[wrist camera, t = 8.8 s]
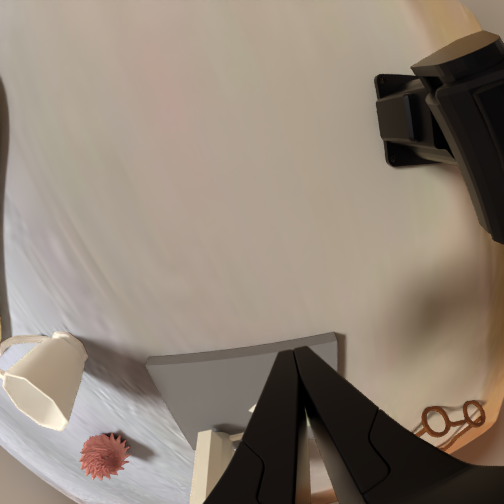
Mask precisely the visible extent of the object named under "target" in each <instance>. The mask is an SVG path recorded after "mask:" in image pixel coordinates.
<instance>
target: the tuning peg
mask: <svg viewBox="0 0 504 504" xmlns="http://www.w3.org/2000/svg"><path fill="white" fill-rule="evenodd" d="M243 433H244V432H243ZM243 433H239V434H235V435H230V434H228V433H225V432H213V431H212V430H207V431H203V432H198V438H197V446H196V454H195V462H194V470H193V478H192V487H191V496H190V504H203V502H204V501H205V499H206V498H207V497H208V495H209V494H210V492H211V491H212V490H213V488H214V487H215V485H216V484H217V482H218V481H219V479H220V478H221V476H222V474H223V473H224V471H225V470H226V468H227V466H228V464H229V462H230V461H231V459H232V457H233V455H234V453H235V451H234V450H233V449H232V441H236V440H240V439H241V438H242V436H243Z"/></svg>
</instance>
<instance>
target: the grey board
mask: <svg viewBox="0 0 504 504" xmlns="http://www.w3.org/2000/svg"><path fill="white" fill-rule="evenodd" d="M305 345H307V346H308V347H310V348H311V349H312V350H313V351H314V352H315V353H316V354H318V355H319V356H320V357H321V358H322V359H323V360H324V361H325V362H327V363H328V364H329V365H330V366H331V367H332V368H333V369H335V370H336V371H337V339H336V337H335V334H334V332H332V333H327V334H322V335H317V336H311V337H306V338H301V339H295V340H289V341H283V342H277V343H271V344H265V345H258V346H251V347H244V348H236V349H229V350H220V351H212V352H202V353H193V354H182V355H170V356H156V357H149V358H148V360H147V363H146V365H145V366H146V368H147V370H148V372H149V374H150V376H151V378H152V380H153V382H154V384H155V386H156V387H157V389H158V391H159V393H160V395H161V397H162V399H163V400H164V402H165V404H166V406H167V408H168V409H169V411H170V413H171V414H172V416H173V418H174V420H175V421H176V423H177V425H178V426H179V428H180V430H181V431H182V433H183V435H184V436H185V438H186V439H187V441H188V442H189V444H190V446H191V447H192V449H193V450H196V446H197V438H198V432H203V431H207V430H212V431H213V432H225V433H228V434H230V435H235V434H239V433H243V432H244V431H245V429H246V427H247V425H248V422H249V420H250V418H251V415H252V413H253V411H254V409H255V406H256V404H257V402H258V399H259V397H260V395H261V392H262V390H263V387H264V385H265V383H266V380H267V378H268V375H269V373H270V370H271V368H272V366H273V363H274V361H275V358H276V356H277V353H278V352H279V351H283V350H287V349H292V350H293V349H294V348H296V347H300V346H305ZM305 411H306V410H305ZM306 416H307V414H306ZM307 425H308V439H313V438H314V435H313V432H312V429H311V427H310V424H309V421H308V418H307ZM240 441H241V439H240V440H236V441H232V449H236V448H237V446H238V444H239V442H240Z"/></svg>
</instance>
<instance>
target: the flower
mask: <svg viewBox="0 0 504 504" xmlns="http://www.w3.org/2000/svg"><path fill="white" fill-rule="evenodd" d="M120 438H121V435H120V436H119V437H118V438H117V439H116V440H115V439H114V436H113V433H111V436H110V437H108V436H106V435H104V434H102V436H101V435H99V436H96V435H95V436H92V437H89V440H87V441H86V442H85V443H84V445H83V446H84V448H83V449H82V452H80V453H82V454H83V456H82V458H81V459H80V461H79V462H82V466H81V469H85V472H86V476H87V475H88V474H90V473H91V475H92V478H93V480H94V478H95V477H96V475H97V476H98V478H99V479H100V480H102V478H103V476H106V477H107V478H109V479H110V474H113V475H118V474H117V472H116V471H117V470H124V468H123V467H121V466H122V465H124V464H125V463H129V461H124V459H126V458H127V457H128V456H129V455H131V454H125V453H126V451H127V450H128V448H130V446H129V447H126V448H124V447H125V442H126V441H127V440H125V441H124V442H122V443H120Z"/></svg>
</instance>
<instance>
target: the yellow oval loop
mask: <svg viewBox="0 0 504 504" xmlns="http://www.w3.org/2000/svg"><path fill="white" fill-rule="evenodd" d="M1 338H2V325H1V317H0V344H1Z"/></svg>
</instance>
